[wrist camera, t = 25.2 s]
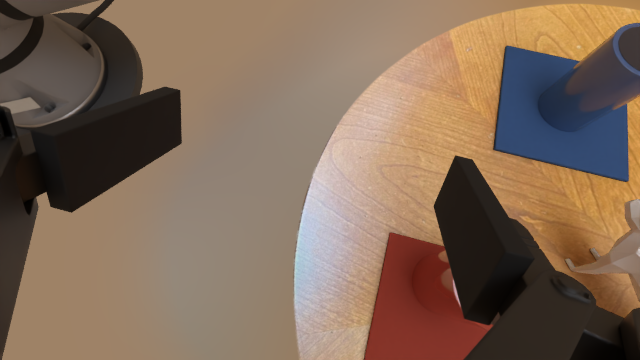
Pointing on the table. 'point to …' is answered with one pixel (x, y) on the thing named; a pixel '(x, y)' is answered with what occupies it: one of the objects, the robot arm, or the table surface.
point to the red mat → (413, 313)
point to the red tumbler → (440, 289)
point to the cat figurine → (620, 251)
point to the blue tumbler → (595, 83)
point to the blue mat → (541, 138)
